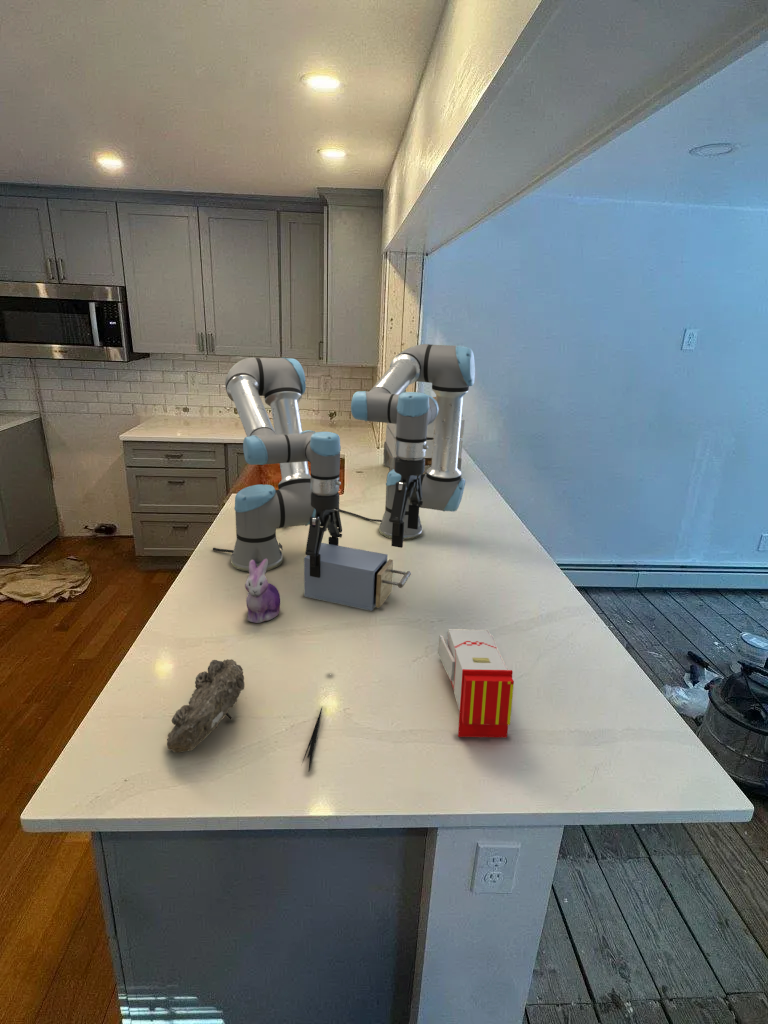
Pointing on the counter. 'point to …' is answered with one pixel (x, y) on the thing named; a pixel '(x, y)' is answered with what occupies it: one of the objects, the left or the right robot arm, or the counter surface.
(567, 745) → the counter surface
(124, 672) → the counter surface
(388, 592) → the drawer
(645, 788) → the counter surface
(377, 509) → the counter surface
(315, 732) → the feather
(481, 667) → the toy
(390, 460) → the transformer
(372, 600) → the cabinet
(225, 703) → the fossil
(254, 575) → the figurine
